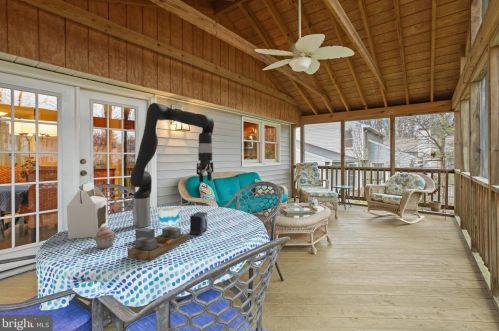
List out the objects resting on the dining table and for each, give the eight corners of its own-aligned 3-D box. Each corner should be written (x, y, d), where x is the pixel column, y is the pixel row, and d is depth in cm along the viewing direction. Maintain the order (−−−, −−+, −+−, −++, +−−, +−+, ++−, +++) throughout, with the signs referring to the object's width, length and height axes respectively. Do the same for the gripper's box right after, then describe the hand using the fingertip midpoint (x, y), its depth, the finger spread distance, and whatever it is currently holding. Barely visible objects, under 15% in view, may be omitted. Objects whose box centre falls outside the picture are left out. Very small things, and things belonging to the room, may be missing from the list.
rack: (127, 257, 113) (127, 241, 113) (167, 238, 138) (167, 225, 138) (150, 261, 109) (150, 244, 108) (187, 241, 134) (187, 227, 133)
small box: (201, 235, 142) (200, 216, 142) (189, 235, 144) (189, 215, 143) (207, 230, 153) (207, 212, 152) (197, 229, 154) (197, 211, 154)
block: (135, 241, 133) (135, 229, 133) (142, 238, 137) (142, 227, 137) (148, 243, 130) (148, 231, 130) (154, 240, 135) (154, 229, 134)
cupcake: (114, 248, 123) (113, 227, 122) (91, 251, 120) (91, 229, 120) (118, 242, 132) (117, 222, 131) (97, 244, 129) (96, 224, 129)
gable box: (83, 227, 158) (82, 180, 157) (108, 226, 161) (106, 180, 160) (67, 239, 136) (65, 185, 135) (95, 237, 140) (94, 184, 138)
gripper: (205, 152, 152) (205, 180, 153) (192, 152, 139) (192, 182, 140) (217, 152, 150) (217, 180, 150) (204, 152, 136) (204, 183, 137)
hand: (205, 181), depth 145 cm, fingers open, 8 cm apart
